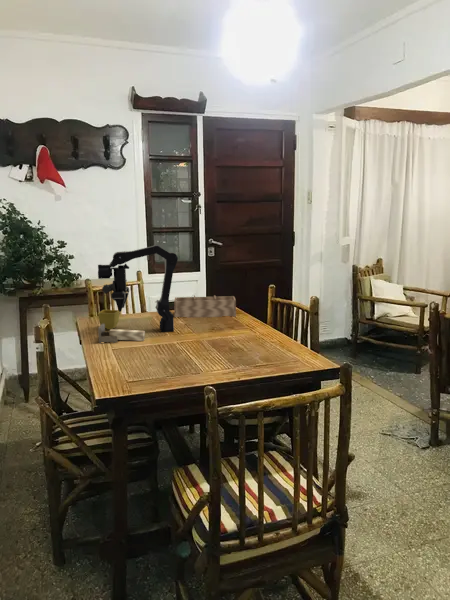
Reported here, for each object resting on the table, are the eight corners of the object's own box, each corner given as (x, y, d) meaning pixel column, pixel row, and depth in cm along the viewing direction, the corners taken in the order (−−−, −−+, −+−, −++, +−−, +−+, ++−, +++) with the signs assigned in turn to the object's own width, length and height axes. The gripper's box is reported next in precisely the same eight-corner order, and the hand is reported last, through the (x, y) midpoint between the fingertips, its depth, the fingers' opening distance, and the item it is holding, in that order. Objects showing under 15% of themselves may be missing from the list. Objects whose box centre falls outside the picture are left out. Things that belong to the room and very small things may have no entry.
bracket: (120, 337, 235) (119, 323, 234) (117, 342, 225) (116, 328, 224) (102, 337, 235) (102, 323, 233) (98, 343, 225) (98, 328, 223)
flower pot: (120, 326, 257) (119, 309, 255) (115, 330, 248) (114, 313, 247) (104, 326, 258) (103, 309, 256) (98, 330, 249) (97, 313, 248)
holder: (234, 311, 292) (233, 294, 290) (235, 316, 280) (235, 298, 278) (175, 313, 290) (174, 295, 288) (174, 317, 278) (174, 299, 276)
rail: (144, 339, 232) (144, 330, 231) (143, 340, 228) (143, 332, 228) (111, 337, 232) (111, 329, 232) (109, 339, 229) (109, 330, 228)
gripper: (106, 275, 247) (107, 306, 249) (99, 281, 228) (101, 313, 231) (128, 275, 247) (130, 305, 250) (123, 280, 229) (125, 313, 232)
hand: (121, 309), depth 241 cm, fingers open, 9 cm apart
